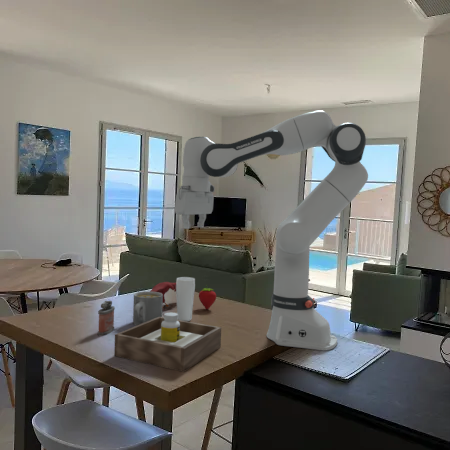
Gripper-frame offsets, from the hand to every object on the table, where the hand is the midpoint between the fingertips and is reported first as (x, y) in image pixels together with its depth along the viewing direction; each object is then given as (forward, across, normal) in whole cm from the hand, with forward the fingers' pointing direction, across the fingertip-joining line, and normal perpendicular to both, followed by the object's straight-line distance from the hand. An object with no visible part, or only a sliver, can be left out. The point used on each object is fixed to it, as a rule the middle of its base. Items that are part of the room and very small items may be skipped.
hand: (193, 227), depth 151 cm
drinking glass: (+34, +8, +7) cm, 36 cm away
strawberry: (+34, +26, +7) cm, 44 cm away
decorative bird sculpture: (+34, +18, +24) cm, 46 cm away
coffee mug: (+34, -4, +16) cm, 38 cm away
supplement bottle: (+33, -23, -6) cm, 41 cm away
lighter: (+34, -18, +21) cm, 44 cm away
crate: (+34, -23, -6) cm, 42 cm away
